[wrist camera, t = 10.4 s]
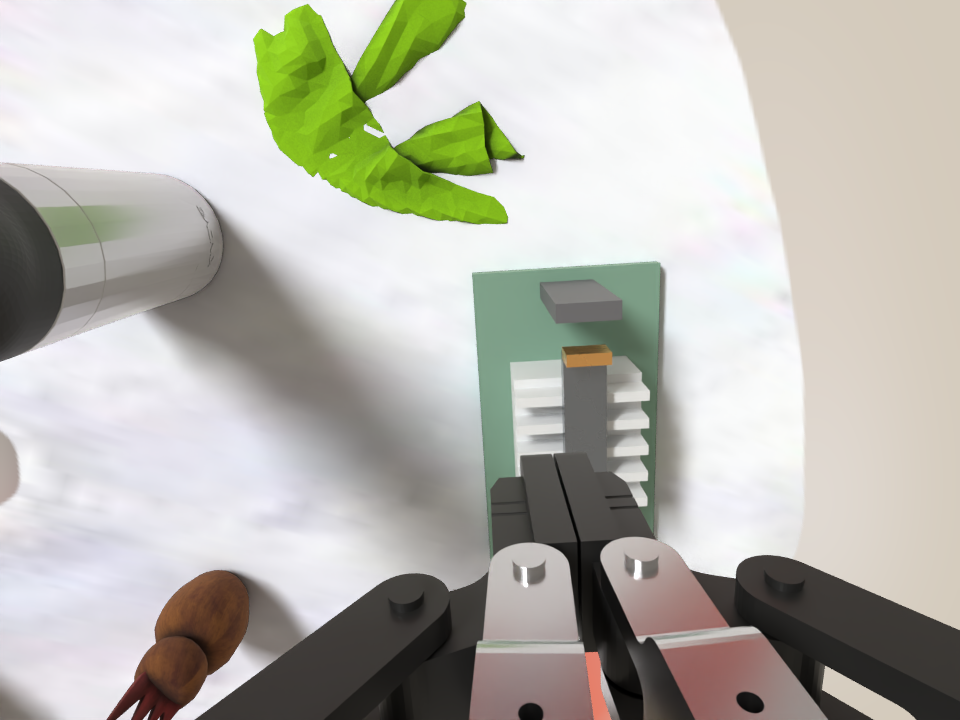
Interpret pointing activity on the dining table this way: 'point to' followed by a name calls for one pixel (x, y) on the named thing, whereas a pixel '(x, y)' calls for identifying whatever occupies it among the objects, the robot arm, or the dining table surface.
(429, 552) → the dining table surface
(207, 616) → the wooden figurine
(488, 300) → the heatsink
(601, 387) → the wood-capped grey post
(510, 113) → the dining table surface
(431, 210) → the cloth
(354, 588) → the dining table surface
